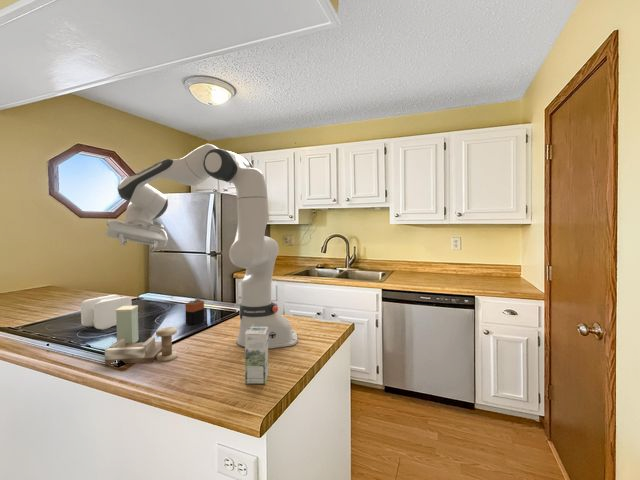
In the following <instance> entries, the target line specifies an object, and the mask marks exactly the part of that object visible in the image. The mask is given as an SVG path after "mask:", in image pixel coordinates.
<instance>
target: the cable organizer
mask: <svg viewBox="0 0 640 480" xmlns="http://www.w3.org/2000/svg"><path fill="white" fill-rule="evenodd" d="M122 306H133V304H132V298H131V297H129V296H122V297H121V295H118V294H109V295H106V296H100V297H99V296H98V297H94V298H89V299H85V300H83V301H81V303H80V319H81V321H80V323H81V325H83V327H94V328H95V329H98V330H102V331H104V330H107V329H110V328H111V327H114V326H115V327H116V326H117V325H116V309H118V308H120V307H122Z"/></svg>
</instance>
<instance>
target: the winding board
mask: <svg viewBox="0 0 640 480" xmlns="http://www.w3.org/2000/svg"><path fill="white" fill-rule="evenodd" d="M161 352H162V344H161V341H156V337H153V336H151V337H149V338H148V339H147V340H145V341H144V342H143V341H142V342H136V343H125V338H124V339H119V340H118V341H117V340H116V341H115V342H114V343H113V344H111V345H110V346H109V347H108V348H106V349H105V350H104V363H105V366H106V365H112V364H111V363H113V362H115V361H116V360H122V361H123V362H124V363H125V364H139V363H140V364H141V363H142V364H143V363H154V362H155V361H157V354H159V353H161Z"/></svg>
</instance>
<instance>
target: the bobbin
mask: <svg viewBox="0 0 640 480" xmlns="http://www.w3.org/2000/svg"><path fill="white" fill-rule="evenodd" d="M177 332H178V330H177V327H173V326H167V327H162V328H159V329H157V330H156V331H155V336H156V337H160V338H161V341H160V342H161V344H162V352H161V353H159V354H157V359H156V361H157V362H170V361H172V360H174V359H176V358H177V357H178V352H177V350H174V349H173V342H172V341H173V339H172V336H174V335H176V334H177Z"/></svg>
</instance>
